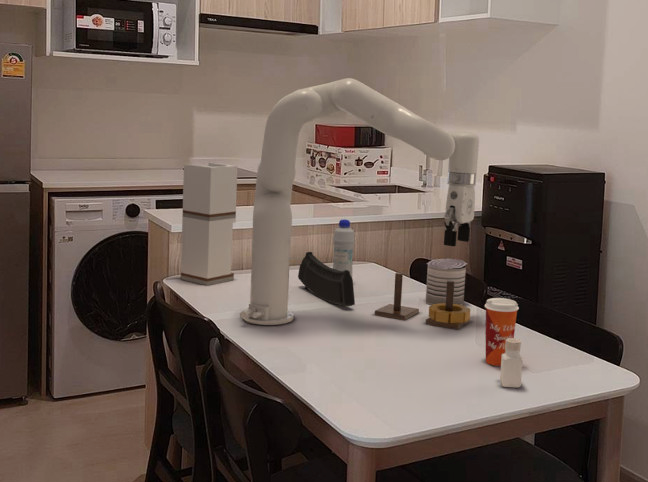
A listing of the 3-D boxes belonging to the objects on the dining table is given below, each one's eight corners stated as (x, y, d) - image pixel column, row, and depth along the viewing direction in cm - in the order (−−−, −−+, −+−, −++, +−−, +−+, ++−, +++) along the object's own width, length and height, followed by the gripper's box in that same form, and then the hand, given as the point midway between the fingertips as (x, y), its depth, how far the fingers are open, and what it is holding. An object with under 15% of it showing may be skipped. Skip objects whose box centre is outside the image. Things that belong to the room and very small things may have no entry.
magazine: (360, 279, 222) (315, 230, 245) (350, 280, 220) (305, 230, 243) (349, 333, 227) (306, 280, 250) (338, 335, 225) (296, 281, 248)
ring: (460, 325, 210) (460, 315, 210) (423, 319, 215) (423, 309, 214) (474, 316, 220) (475, 307, 220) (438, 310, 224) (439, 301, 224)
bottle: (327, 283, 253) (330, 219, 251) (336, 279, 260) (339, 217, 258) (347, 286, 251) (350, 221, 250) (355, 282, 258) (359, 219, 256)
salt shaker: (518, 381, 174) (521, 338, 173) (521, 388, 170) (524, 343, 169) (499, 381, 173) (502, 337, 173) (501, 387, 169) (504, 342, 169)
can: (470, 306, 235) (473, 265, 234) (433, 308, 231) (436, 266, 230) (454, 297, 246) (456, 257, 245) (419, 298, 241) (421, 258, 240)
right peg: (457, 329, 211) (460, 286, 210) (425, 323, 214) (428, 281, 213) (470, 321, 219) (472, 280, 218) (438, 316, 223) (441, 275, 222)
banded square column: (233, 279, 252) (237, 166, 248) (207, 285, 243) (211, 167, 239) (207, 273, 258) (210, 162, 254) (180, 279, 249) (183, 164, 245)
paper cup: (487, 368, 181) (491, 306, 180) (476, 357, 189) (480, 297, 187) (520, 367, 184) (524, 305, 182) (508, 356, 191) (512, 297, 190)
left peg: (404, 320, 217) (407, 278, 216) (374, 315, 220) (376, 273, 219) (418, 313, 225) (421, 272, 224) (389, 308, 229) (391, 268, 228)
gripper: (463, 182, 208) (457, 249, 209) (485, 179, 223) (480, 241, 225) (435, 179, 211) (430, 245, 212) (460, 176, 226) (455, 237, 228)
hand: (456, 243), depth 219 cm, fingers open, 9 cm apart
